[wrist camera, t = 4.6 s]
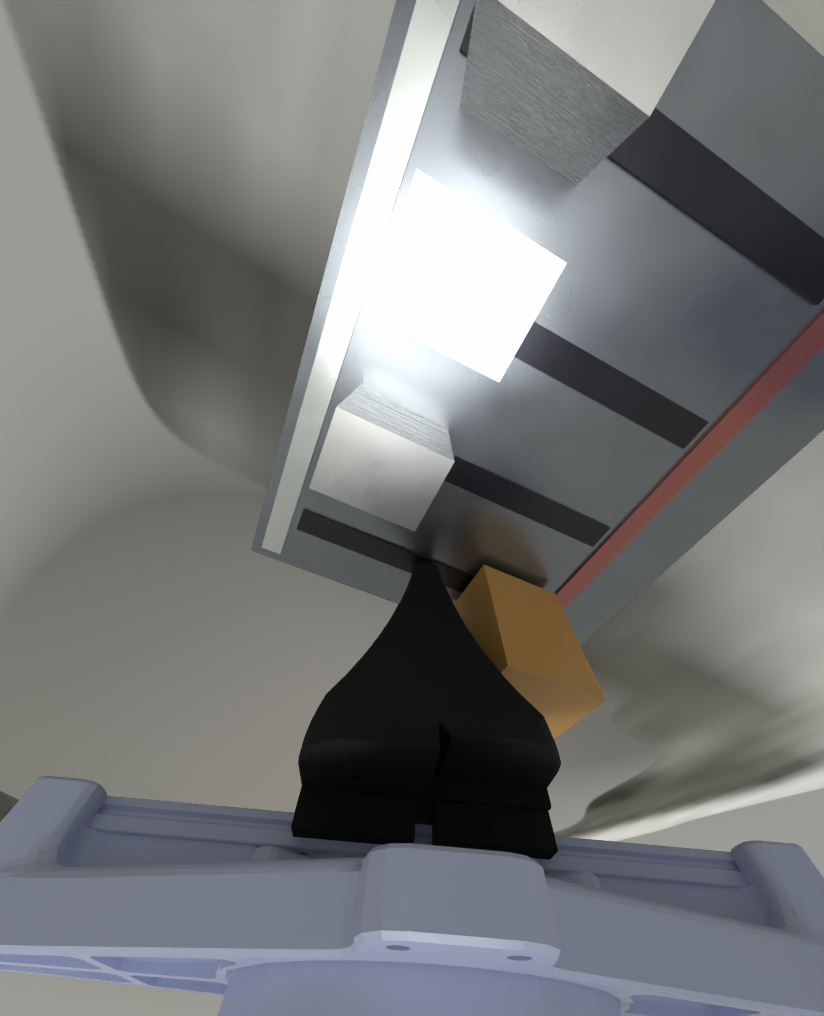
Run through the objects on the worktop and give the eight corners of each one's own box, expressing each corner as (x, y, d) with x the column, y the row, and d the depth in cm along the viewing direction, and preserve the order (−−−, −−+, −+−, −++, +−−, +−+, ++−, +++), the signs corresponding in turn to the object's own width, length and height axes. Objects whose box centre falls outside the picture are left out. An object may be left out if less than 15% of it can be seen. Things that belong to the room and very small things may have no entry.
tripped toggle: (555, 593, 14) (606, 700, 10) (515, 635, 15) (546, 744, 11) (483, 564, 13) (508, 665, 9) (448, 611, 15) (457, 716, 11)
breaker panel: (960, 254, 9) (1318, 207, 5) (553, 642, 18) (586, 726, 14) (461, -171, 6) (507, -851, 3) (263, 534, 15) (209, 602, 11)
